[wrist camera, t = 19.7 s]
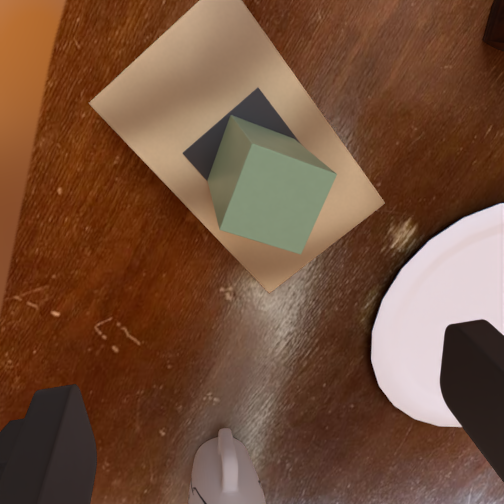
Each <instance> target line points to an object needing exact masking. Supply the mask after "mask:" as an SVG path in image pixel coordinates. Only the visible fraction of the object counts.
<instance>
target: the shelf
mask: <svg viewBox="0 0 504 504" xmlns="http://www.w3.org/2000/svg"><path fill="white" fill-rule="evenodd" d="M89 105H90V106H91V107H92V108H93V109H94V110H95V111H96V112H97V113H98V114H99V115H100V116H101V117H102V118H103V119H104V120H105V121H106V122H107V123H108V125H109V126H110V127H111V128H112V129H113V130H114V131H115V132H116V133H117V134H118V135H119V136H120V137H121V138H122V139H123V140H124V141H125V142H126V143H127V145H128V146H129V147H130V148H131V149H132V150H133V151H134V152H135V153H136V154H137V155H138V156H139V157H140V158H141V159H142V160H143V161H144V162H145V163H146V165H147V166H148V167H149V168H150V169H151V170H152V171H153V172H154V173H155V174H156V175H157V176H158V177H159V178H160V179H161V180H162V181H163V182H164V183H165V185H166V186H167V187H168V188H169V189H170V190H171V191H172V192H173V193H174V194H175V195H176V196H177V197H178V198H179V199H180V200H181V201H182V202H183V203H184V205H185V206H186V207H187V208H188V209H189V210H190V211H191V212H192V213H193V214H194V215H195V216H196V217H197V218H198V219H199V220H200V221H201V222H202V223H203V225H204V226H205V227H206V228H207V229H208V230H209V231H210V232H211V233H212V234H213V235H214V236H215V237H216V238H217V239H218V240H219V241H220V242H221V243H222V245H223V246H224V247H225V248H226V249H227V250H228V251H229V252H230V253H231V254H232V255H233V256H234V257H235V258H236V259H237V260H238V261H239V262H240V263H241V265H242V266H243V267H244V268H245V269H246V270H247V271H248V272H249V273H250V274H251V275H252V276H253V277H254V278H255V279H256V280H257V281H258V282H259V283H260V285H261V286H262V287H263V288H264V289H265V290H266V291H267V292H268V293H271V292H272V291H273V290H275V289H276V288H277V287H278V286H280V285H281V284H282V283H283V282H285V281H286V280H287V279H289V278H290V277H291V276H292V275H294V274H295V273H296V272H298V271H299V270H300V269H301V268H303V267H304V266H305V265H307V264H308V263H309V262H310V261H312V260H313V259H314V258H315V257H317V256H318V255H319V254H321V253H322V252H323V251H324V250H326V249H327V248H328V247H330V246H331V245H332V244H333V243H335V242H336V241H337V240H339V239H340V238H341V237H342V236H344V235H345V234H346V233H347V232H349V231H350V230H351V229H353V228H354V227H355V226H356V225H358V224H359V223H360V222H362V221H363V220H364V219H365V218H367V217H368V216H369V215H371V214H372V213H373V212H374V211H376V210H377V209H378V208H379V207H381V206H382V205H383V204H385V202H384V201H383V199H382V198H381V196H380V195H379V194H378V192H377V191H376V189H375V188H374V186H373V185H372V184H371V182H370V181H369V179H368V178H367V177H366V175H365V174H364V172H363V171H362V169H361V168H360V167H359V165H358V164H357V162H356V161H355V160H354V158H353V157H352V155H351V154H350V153H349V151H348V150H347V148H346V147H345V145H344V144H343V143H342V141H341V140H340V138H339V137H338V136H337V134H336V133H335V131H334V130H333V128H332V127H331V126H330V124H329V123H328V121H327V120H326V119H325V117H324V116H323V114H322V113H321V112H320V110H319V109H318V107H317V106H316V104H315V103H314V102H313V100H312V99H311V97H310V96H309V95H308V93H307V92H306V90H305V89H304V88H303V86H302V85H301V83H300V82H299V80H298V79H297V78H296V76H295V75H294V73H293V72H292V71H291V69H290V68H289V66H288V65H287V63H286V62H285V61H284V59H283V58H282V56H281V55H280V54H279V52H278V51H277V49H276V48H275V47H274V45H273V44H272V42H271V41H270V39H269V38H268V37H267V35H266V34H265V32H264V31H263V30H262V28H261V27H260V25H259V24H258V22H257V21H256V20H255V18H254V17H253V15H252V14H251V13H250V11H249V10H248V8H247V7H246V6H245V4H244V3H243V1H242V0H199V1H198V2H197V3H196V4H195V5H194V6H193V7H192V8H191V9H189V10H188V11H187V12H186V13H185V14H184V15H183V16H182V17H181V18H180V19H179V20H178V21H177V22H175V23H174V24H173V25H172V26H171V27H170V28H169V29H168V30H167V31H166V32H165V33H164V34H163V35H161V36H160V37H159V38H158V39H157V40H156V41H155V42H154V43H153V44H152V45H151V46H150V47H149V48H147V49H146V50H145V51H144V52H143V53H142V54H141V55H140V56H139V57H138V58H137V59H136V60H135V61H133V62H132V63H131V64H130V65H129V66H128V67H127V68H126V69H125V70H124V71H123V72H122V73H120V74H119V75H118V76H117V77H116V78H115V79H114V80H113V81H112V82H111V83H110V84H109V85H108V86H106V87H105V88H104V89H103V90H102V91H101V92H100V93H99V94H98V95H97V96H96V97H95V98H94V99H92V100H91V101H90V102H89ZM230 115H233V116H235V117H238V118H240V119H243V120H246V121H248V122H251V123H254V124H256V125H259V126H262V127H264V128H267V129H270V130H272V131H275V132H277V133H280V134H283V135H285V136H288V137H291V138H293V139H295V140H296V141H297V142H299V143H300V144H301V145H302V146H303V147H305V148H306V149H307V150H308V151H310V152H311V153H312V154H313V155H314V156H316V157H317V158H318V159H319V160H320V161H322V162H323V163H324V164H325V165H327V166H328V167H329V168H330V169H331V170H333V171H334V172H335V173H336V174H337V176H336V178H335V180H334V182H333V185H332V187H331V189H330V191H329V194H328V196H327V198H326V200H325V202H324V205H323V207H322V209H321V211H320V214H319V216H318V218H317V220H316V222H315V225H314V227H313V229H312V231H311V233H310V236H309V238H308V240H307V242H306V245H305V247H304V249H303V251H302V253H301V254H297V253H294V252H290V251H287V250H284V249H281V248H277V247H274V246H271V245H267V244H264V243H261V242H258V241H254V240H251V239H248V238H244V237H241V236H238V235H235V234H231V233H228V232H225V231H221V230H219V226H218V222H217V217H216V213H215V209H214V205H213V201H212V197H211V193H210V189H209V185H208V177H209V174H210V172H211V169H212V166H213V163H214V160H215V158H216V155H217V152H218V149H219V146H220V143H221V141H222V138H223V135H224V132H225V129H226V126H227V124H228V121H229V118H230Z"/></svg>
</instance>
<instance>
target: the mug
mask: <svg viewBox="0 0 504 504" xmlns="http://www.w3.org/2000/svg"><path fill="white" fill-rule="evenodd" d="M188 504H266V500H265V497H264V493H263V490H262V486H261V483H260V480H259V478H258V475H257V472H256V470H255V467H254V465H253V463H252V460H251V458H250V455H249V453H248V451H247V449H246V447H245V446H244V444H243V443H242V442H240V441H239V440H237V439H235V438H233V436H232V432H231V429H229V428H222V429H220V430H219V433H218V437H216V438H213V439H210V440H208V441H206V442H205V443H204V444H202V445H201V446H200V448H199V449H198V450H197V452H196V455H195V458H194V463H193V469H192V475H191V482H190V488H189V498H188Z"/></svg>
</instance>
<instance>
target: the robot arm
mask: <svg viewBox="0 0 504 504" xmlns="http://www.w3.org/2000/svg"><path fill="white" fill-rule="evenodd" d="M440 389H441V393H442V396H443V399H444V401H445V403H446V405H447V407H448V408H449V410H450V411H451V412H452V414H453V415H454V416H455V418H456V419H457V420H458V422H459V423H460V424H461V426H462V427H463V429H464V430H465V431H466V433H467V434H468V435H469V437H470V438H471V439H472V441H473V442H474V443H475V445H476V446H477V447H478V449H479V450H480V451H481V453H482V454H483V455H484V457H485V458H486V459H487V461H488V462H489V463H490V465H491V466H492V467H493V469H494V470H495V471H496V473H497V474H498V475H499V477H500V478H501V479H502V481H503V482H504V335H503V334H502V333H500V332H499V331H498V330H497V329H496V328H495V327H494V326H493V325H492V324H490V323H489V322H488V321H486V320H484V319H479V320H473V321H467V322H461V323H455V324H450V325H448V326H447V327H446V330H445V334H444V343H443V352H442V361H441V371H440ZM96 465H97V452H96V443H95V439H94V435H93V432H92V428H91V425H90V422H89V418H88V415H87V412H86V408H85V405H84V402H83V398H82V395H81V392H80V389H79V387H78V386H77V385H76V384H73V385H66V386H60V387H54V388H48V389H42V390H37V391H36V392H35V394H34V396H33V398H32V401H31V403H30V406H29V409H28V411H27V414H26V416H25V418H24V419H18V420H13V421H10V422H9V423H8V424H7V425H6V426H5V427H4V428H3V430H2V431H1V432H0V504H90V501H91V496H92V490H93V485H94V479H95V473H96Z"/></svg>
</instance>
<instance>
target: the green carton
mask: <svg viewBox="0 0 504 504" xmlns="http://www.w3.org/2000/svg"><path fill="white" fill-rule="evenodd" d="M336 176H337V174H336V173H335V172H334V171H333V170H331V169H330V168H329V167H328V166H327V165H325V164H324V163H323V162H322V161H320V160H319V159H318V158H317V157H316V156H314V155H313V154H312V153H311V152H310V151H308V150H307V149H306V148H305V147H303V146H302V145H301V144H300V143H299V142H297V141H296V140H295V139H293V138H291V137H288V136H285V135H283V134H280V133H277V132H275V131H272V130H270V129H267V128H264V127H262V126H259V125H256V124H254V123H251V122H248V121H246V120H243V119H240V118H238V117H235V116H233V115H230V118H229V121H228V124H227V126H226V129H225V132H224V135H223V138H222V141H221V143H220V146H219V149H218V152H217V155H216V158H215V160H214V163H213V166H212V169H211V172H210V174H209V177H208V185H209V189H210V193H211V197H212V201H213V205H214V209H215V213H216V217H217V222H218V226H219V230H221V231H225V232H228V233H231V234H235V235H238V236H241V237H244V238H248V239H251V240H254V241H258V242H261V243H264V244H267V245H271V246H274V247H277V248H281V249H284V250H287V251H290V252H294V253H297V254H301V253H302V251H303V249H304V247H305V245H306V242H307V240H308V238H309V236H310V233H311V231H312V229H313V227H314V225H315V222H316V220H317V218H318V216H319V214H320V211H321V209H322V207H323V205H324V202H325V200H326V198H327V196H328V194H329V191H330V189H331V187H332V185H333V182H334V180H335V178H336Z"/></svg>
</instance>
